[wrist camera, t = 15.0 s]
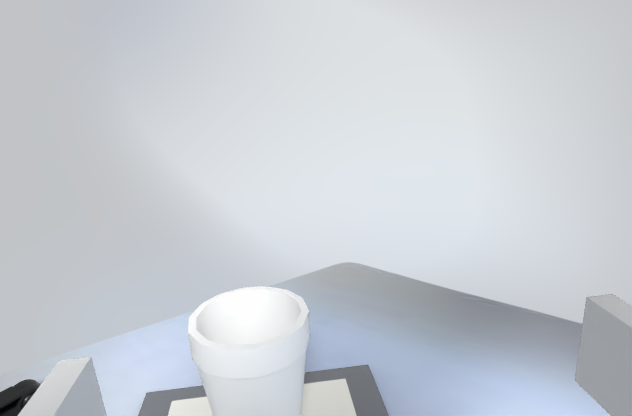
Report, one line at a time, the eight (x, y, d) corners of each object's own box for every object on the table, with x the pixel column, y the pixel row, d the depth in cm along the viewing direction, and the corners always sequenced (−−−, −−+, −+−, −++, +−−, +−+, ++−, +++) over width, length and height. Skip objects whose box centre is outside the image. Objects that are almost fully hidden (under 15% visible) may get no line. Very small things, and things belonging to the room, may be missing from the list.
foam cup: (195, 498, 32) (171, 354, 28) (218, 409, 41) (202, 290, 37) (318, 489, 32) (310, 345, 29) (314, 402, 41) (307, 284, 38)
